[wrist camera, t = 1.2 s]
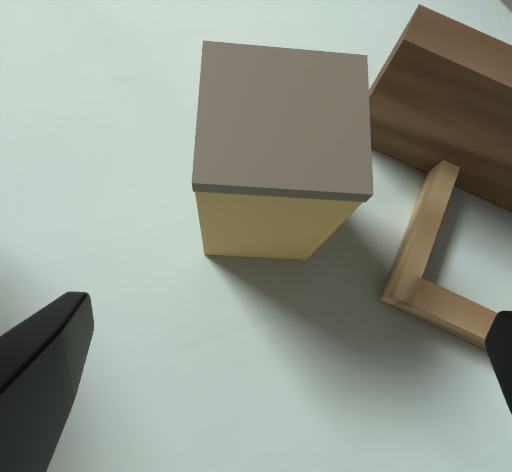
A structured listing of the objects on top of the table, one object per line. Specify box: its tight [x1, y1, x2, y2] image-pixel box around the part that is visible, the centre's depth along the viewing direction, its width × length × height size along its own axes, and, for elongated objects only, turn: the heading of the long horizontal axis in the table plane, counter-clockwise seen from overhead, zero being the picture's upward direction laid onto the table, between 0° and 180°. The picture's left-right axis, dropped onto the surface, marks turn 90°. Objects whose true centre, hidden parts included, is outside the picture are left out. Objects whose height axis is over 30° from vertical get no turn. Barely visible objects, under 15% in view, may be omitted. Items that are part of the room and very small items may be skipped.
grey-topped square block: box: [192, 41, 373, 260], centre depth 18 cm, size 5×6×10 cm
